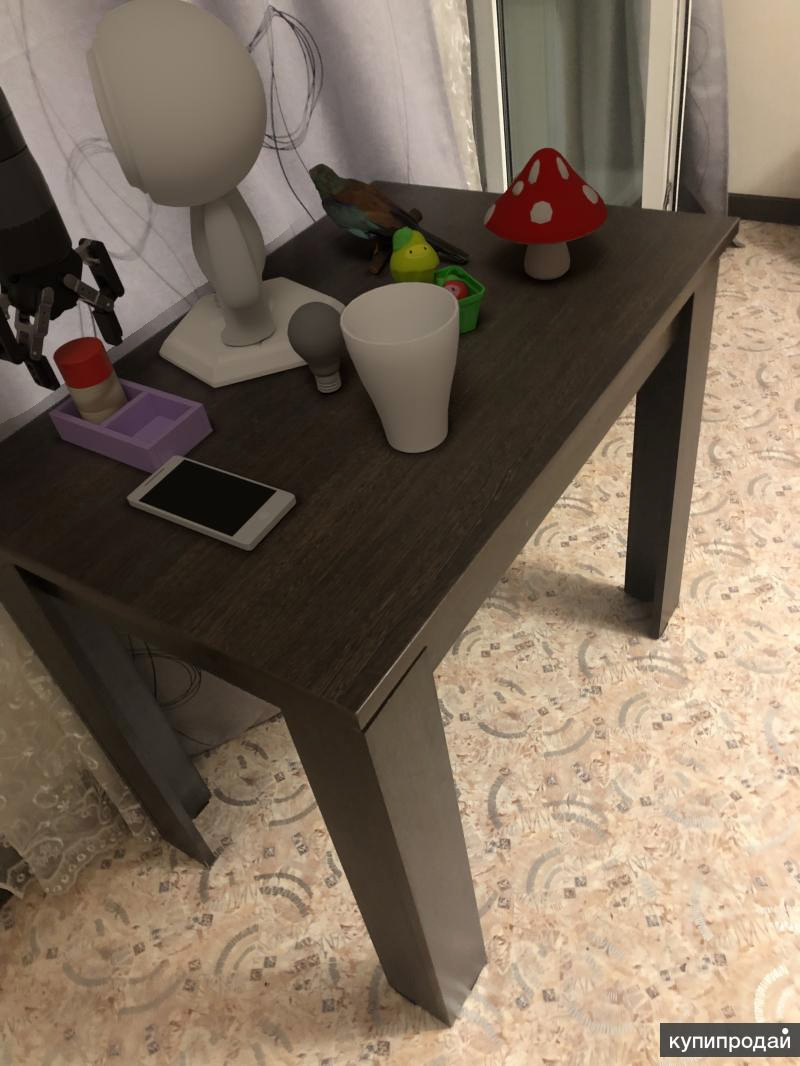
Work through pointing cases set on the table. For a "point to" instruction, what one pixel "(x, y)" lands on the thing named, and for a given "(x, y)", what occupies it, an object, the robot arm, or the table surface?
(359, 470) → the table surface
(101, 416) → the ivory token
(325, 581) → the table surface
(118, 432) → the purple divided tray
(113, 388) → the ivory token
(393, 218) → the bird figurine
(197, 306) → the white cartoon figure
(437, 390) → the cup
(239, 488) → the smartphone
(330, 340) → the light bulb
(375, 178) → the table surface
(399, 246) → the fruit basket
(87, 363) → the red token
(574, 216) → the decorative mushroom
